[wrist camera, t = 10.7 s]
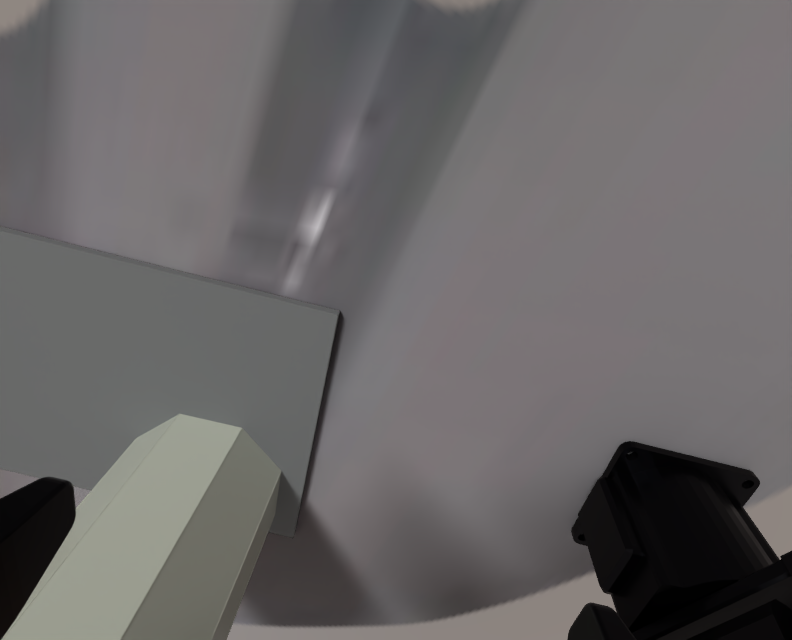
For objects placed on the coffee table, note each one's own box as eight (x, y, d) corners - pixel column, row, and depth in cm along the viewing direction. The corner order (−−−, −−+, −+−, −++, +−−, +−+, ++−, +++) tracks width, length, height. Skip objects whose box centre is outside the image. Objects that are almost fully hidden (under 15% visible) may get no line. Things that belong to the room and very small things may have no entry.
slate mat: (339, 310, 21) (338, 314, 21) (295, 532, 27) (293, 538, 27) (-57, 211, 20) (-67, 214, 20) (-10, 459, 27) (-16, 464, 26)
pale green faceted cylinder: (286, 437, 24) (146, 757, 13) (271, 540, 27) (150, 865, 16) (135, 403, 24) (-143, 695, 12) (138, 511, 27) (-78, 818, 16)
